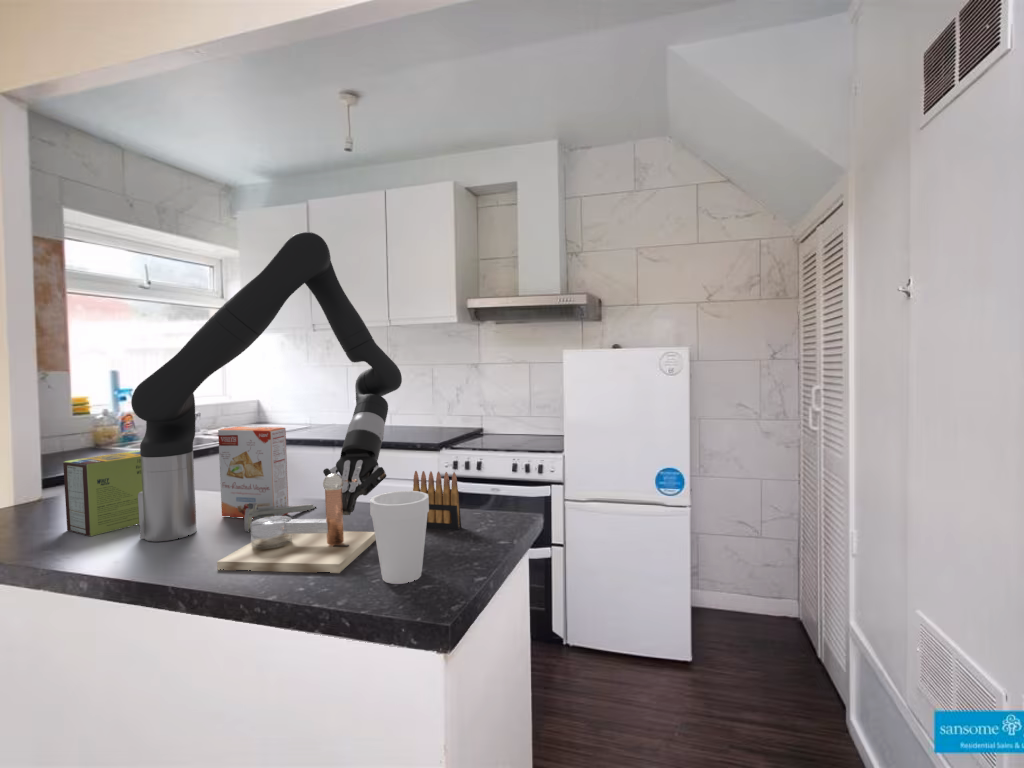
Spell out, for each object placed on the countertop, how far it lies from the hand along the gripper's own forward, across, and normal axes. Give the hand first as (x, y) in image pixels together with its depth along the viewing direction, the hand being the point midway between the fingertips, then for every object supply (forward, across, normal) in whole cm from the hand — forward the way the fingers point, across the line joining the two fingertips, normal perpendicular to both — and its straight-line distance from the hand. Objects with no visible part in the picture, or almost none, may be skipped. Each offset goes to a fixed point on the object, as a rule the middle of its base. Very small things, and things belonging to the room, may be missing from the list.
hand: (344, 513), depth 100 cm
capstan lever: (+5, -8, +2) cm, 10 cm away
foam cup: (+14, +14, -4) cm, 20 cm away
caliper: (-8, -23, +18) cm, 30 cm away
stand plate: (+7, -7, +3) cm, 10 cm away
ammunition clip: (-4, +14, +15) cm, 21 cm away
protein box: (-6, -60, +15) cm, 62 cm away
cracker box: (-10, -31, +20) cm, 38 cm away
